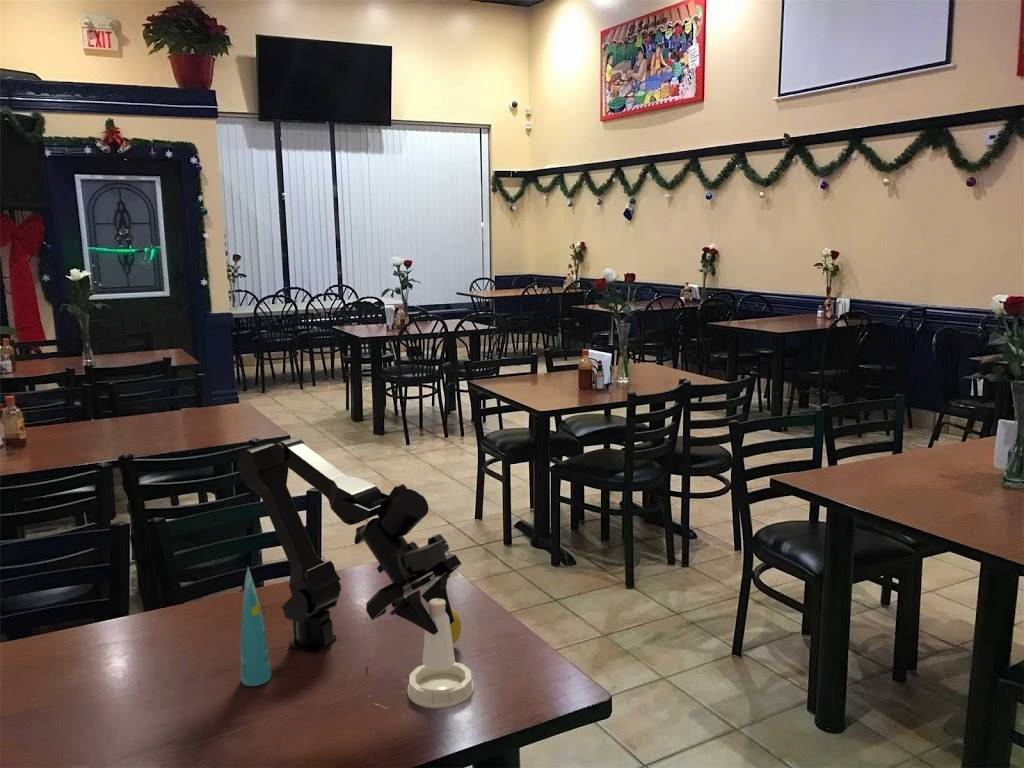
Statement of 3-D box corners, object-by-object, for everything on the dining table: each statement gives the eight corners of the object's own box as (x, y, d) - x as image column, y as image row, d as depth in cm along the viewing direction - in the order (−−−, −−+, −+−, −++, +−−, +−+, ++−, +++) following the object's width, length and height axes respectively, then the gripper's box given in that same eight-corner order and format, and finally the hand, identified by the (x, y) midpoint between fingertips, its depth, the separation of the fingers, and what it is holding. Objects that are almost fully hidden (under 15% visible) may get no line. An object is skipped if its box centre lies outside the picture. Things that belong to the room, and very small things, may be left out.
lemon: (457, 656, 145) (455, 614, 144) (427, 653, 147) (425, 612, 145) (464, 641, 151) (463, 601, 149) (436, 639, 152) (434, 599, 150)
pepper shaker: (420, 671, 131) (417, 608, 129) (425, 654, 137) (422, 593, 135) (453, 672, 131) (451, 608, 129) (457, 654, 136) (455, 593, 134)
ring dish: (394, 700, 132) (394, 686, 131) (428, 667, 142) (428, 654, 141) (454, 714, 127) (454, 700, 127) (485, 680, 137) (484, 667, 137)
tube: (274, 686, 137) (266, 579, 133) (244, 693, 135) (235, 584, 131) (267, 665, 143) (259, 563, 140) (238, 672, 141) (230, 568, 138)
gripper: (376, 542, 124) (434, 627, 120) (451, 508, 139) (505, 583, 135) (342, 578, 130) (396, 661, 126) (418, 542, 145) (468, 615, 141)
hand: (444, 628), depth 132 cm, fingers closed on pepper shaker, 4 cm apart
